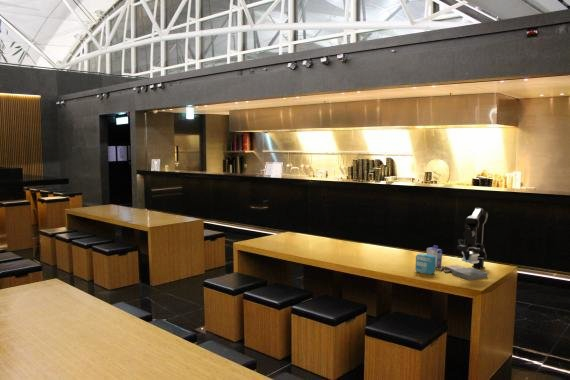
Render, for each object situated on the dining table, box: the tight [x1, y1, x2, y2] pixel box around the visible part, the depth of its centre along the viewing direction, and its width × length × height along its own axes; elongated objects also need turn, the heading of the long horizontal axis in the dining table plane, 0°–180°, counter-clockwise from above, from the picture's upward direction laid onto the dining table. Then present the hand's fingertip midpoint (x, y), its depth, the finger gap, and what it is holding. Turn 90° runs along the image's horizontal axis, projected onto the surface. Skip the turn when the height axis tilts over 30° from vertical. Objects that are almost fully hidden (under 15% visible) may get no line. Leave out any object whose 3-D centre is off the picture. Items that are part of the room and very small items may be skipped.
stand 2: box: [451, 266, 489, 281], centre depth 316 cm, size 16×15×3 cm
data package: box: [414, 253, 436, 275], centre depth 323 cm, size 12×4×12 cm, turn 53°
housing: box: [461, 250, 479, 264], centre depth 315 cm, size 6×9×6 cm, turn 24°
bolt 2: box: [443, 269, 453, 274], centre depth 324 cm, size 6×2×2 cm, turn 114°
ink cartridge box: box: [426, 244, 443, 268], centre depth 341 cm, size 10×6×14 cm, turn 33°
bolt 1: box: [438, 265, 446, 272], centre depth 329 cm, size 6×2×2 cm, turn 139°
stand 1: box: [444, 264, 466, 271], centre depth 329 cm, size 11×11×2 cm
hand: (470, 259), depth 315 cm, fingers closed on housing, 6 cm apart
